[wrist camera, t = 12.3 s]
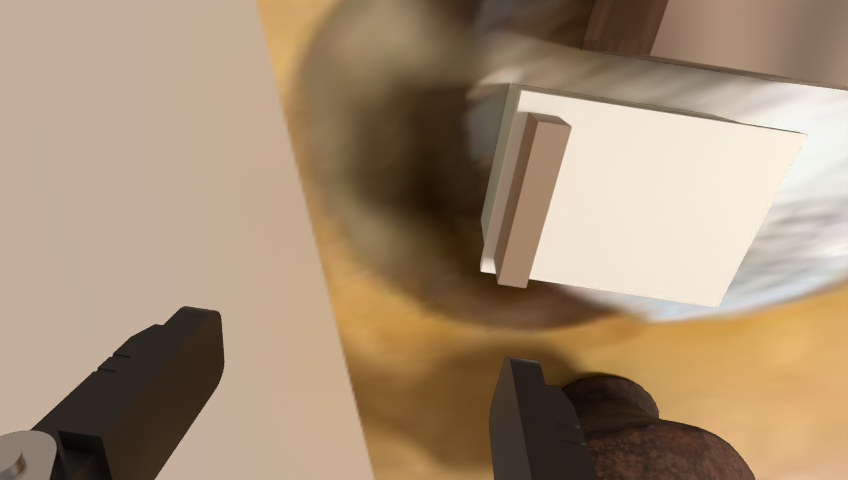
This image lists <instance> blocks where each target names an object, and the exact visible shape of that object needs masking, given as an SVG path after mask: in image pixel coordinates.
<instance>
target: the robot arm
mask: <svg viewBox="0 0 848 480" xmlns="http://www.w3.org/2000/svg"><path fill="white" fill-rule="evenodd" d="M223 369H224V348H223V335H222V322H221V315H220V313H219V312H218V311H214V310H208V309H201V308H194V307H188V306H184V307H182V308H180V309H179V310H178V311H177V312H176V313H175V314H174V315H173V316H172V317H171V318H170V319H169V320H168V321H167V322H166V323H165V324H164V325H157V324H155V325H153V326H151V327H149V328H147V329H145V330H143V331H141V332H139V333H138V334H136V335H134V336H132V337H130V338H129V339H128V340H127V341H126V342H125V343H124V344H123V345H122V346H121V347H120V348H118V349H117V350H116V351H115V352H114V353H113V356H112V357H109V358H108V359H107V360H106V361H105V362H103V363H102V364H101V365H100V366H99V367H98V370H97V371H96V372H95V371H94V372H93V373H91V374H90V375H89V376H88V377H87V378H86V379H85V380H84V381H83V382H82V383H81V384H80V385H79V386H78V387H76V388H75V389H74V390H73V391H72V392H71V393H70V394H69V395H68V396H67V397H66V398H64V399H63V400H62V401H61V402H60V403H59V404H58V405H57V406H56V407H55V408H54V409H53V410H51V412H49V413H48V414H47V415H46V416H45V417H44V418H43V419H42V420H41V421H40V422H39V423H37V424H36V425H35V426H34V427H33V428H32V429H31V430H29V431H18V432H13V433H9V434H5V435H2V436H0V480H155V478H156V477H157V475H158V473H159V472H160V471H161V469H162V468H163V466H164V465H165V463H166V462H167V460H168V459H169V457H170V456H171V454H172V453H173V451H174V450H175V449H176V447H177V446H178V444H179V443H180V441H181V440H182V438H183V437H184V435H185V434H186V432H187V431H188V429H189V428H190V426H191V425H192V423H193V422H194V420H195V419H196V417H197V416H198V414H199V413H200V412H201V410H202V408H203V407H204V406H205V404H206V402H207V401H208V400H209V398H210V397H211V395H212V394H213V392H214V391H215V389H216V388H217V386H218V384H219V382H220V380H221V377H222V373H223ZM489 429H490V440H491V451H492V461H493V471H494V480H598V477H597V474H596V471H595V468H594V465H593V462H592V459H591V456H590V453H589V450H588V447H586V441H585V438H584V435H583V432H582V430H580V423H579V420H578V417H577V414H576V411H575V408H574V405H573V404H572V403H571V401H570V400H569V399H568V398H567V396H566V395H565V394H564V392H563V391H562V390H561V389H560V387H558V386H551V385H546V384H545V380H544V377H543V373H542V369H541V366H540V363H539V362H538V361H535V360H529V359H522V358H516V357H509V356H507V357H506V358H505V359H504V362H503V365H502V369H501V372H500V376H499V379H498V383H497V386H496V390H495V393H494V397H493V400H492V404H491V409H490V420H489Z"/></svg>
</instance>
